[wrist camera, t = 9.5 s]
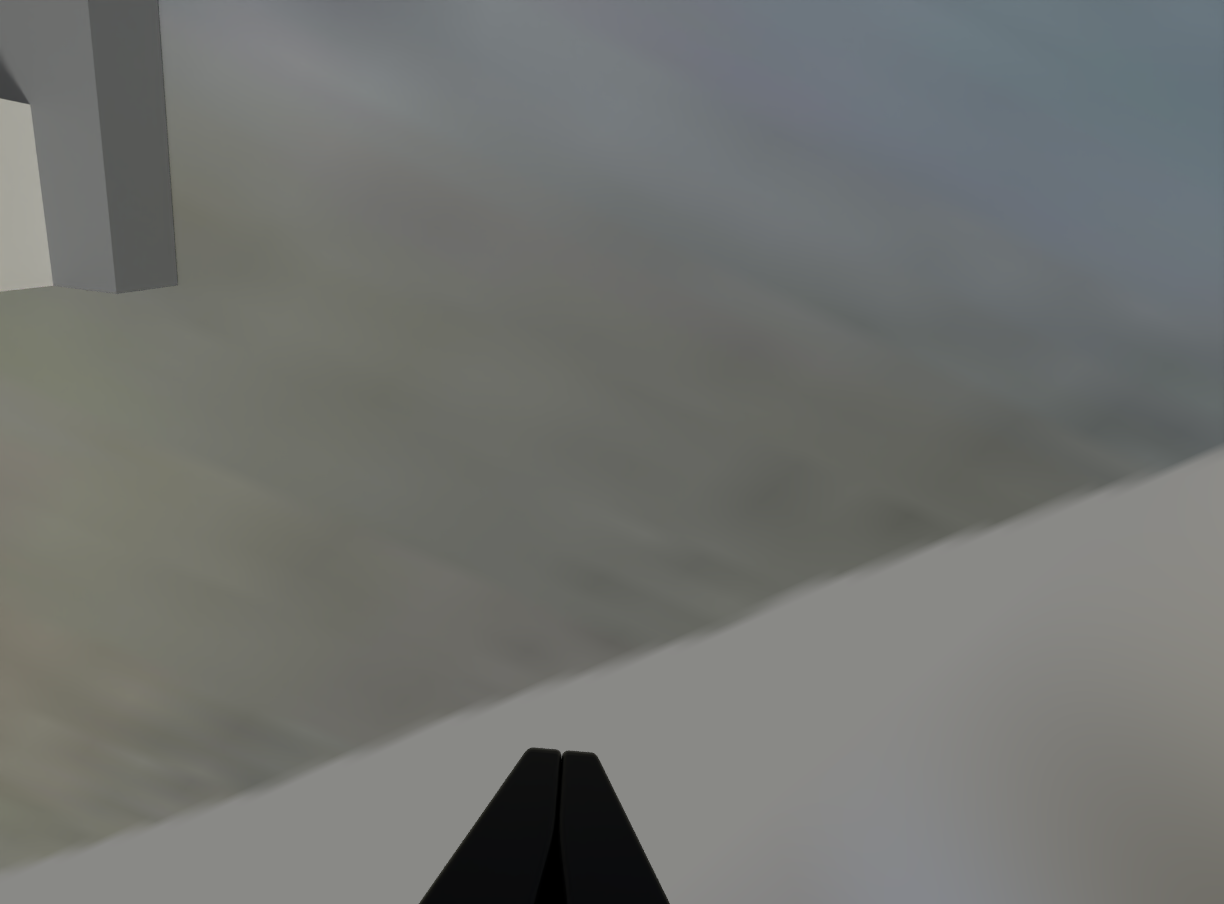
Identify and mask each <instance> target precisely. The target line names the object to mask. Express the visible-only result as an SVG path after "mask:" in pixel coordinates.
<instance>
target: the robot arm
mask: <svg viewBox="0 0 1224 904" xmlns="http://www.w3.org/2000/svg"><path fill="white" fill-rule="evenodd" d="M419 904H670V903H669V901H668V899H667V897H666V895H665V893H664V891H663V889H662V887H661V885H660V883H659V881H658V879H657V877H656V875H655V873H654V870H653V868H652V867H651V864H650V862H649V860H648V858H647V856H646V854H645V852H644V850H643V848H642V846H641V844H640V842H639V840H638V838H637V836H636V834H635V832H634V830H633V828H632V826H631V824H630V822H629V820H628V817H627V815H626V813H625V811H624V809H623V807H622V805H621V803H620V801H619V799H618V797H617V795H616V793H615V791H614V789H613V787H612V785H611V783H610V781H609V779H608V777H607V775H606V773H605V771H604V769H603V767H602V765H601V763H600V761H599V759H598V757H597V756H596V755H595V754H594V753H590V752H579V751H566V752H564V753H563V755H562V759H561V753H560V751H558V750H556V749H543V748H530V749H528V750H527V751H526V752H525V753H524V754H523V756H522V757H521V759H520V760H519V762H518V763H517V764H516V766H515V767H514V769H513V770H512V772H511V773H510V774H509V776H508V777H507V779H506V780H505V782H504V783H503V785H502V786H501V787H500V789H499V791H498V792H497V793H496V794H495V796H494V798H493V799H492V800H491V802H490V803H489V804H488V806H487V807H486V809H485V810H484V812H483V813H482V814H481V816H480V817H479V819H478V820H477V822H476V823H475V825H474V826H473V827H472V829H471V830H470V832H469V833H468V835H467V836H466V837H465V839H464V840H463V842H462V843H461V844H460V846H459V847H458V849H457V850H456V852H455V853H454V854H453V856H452V857H451V859H450V860H449V862H448V863H447V864H446V866H445V867H444V869H443V870H442V872H441V873H440V874H439V876H438V878H437V879H436V880H435V882H434V883H433V884H432V886H431V887H430V889H429V890H428V892H427V893H426V894H425V896H424V897H423V899H422V900H421V902H420V903H419Z"/></svg>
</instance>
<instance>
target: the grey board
mask: <svg viewBox="0 0 1224 904" xmlns="http://www.w3.org/2000/svg"><path fill="white" fill-rule="evenodd" d="M0 98H1V99H6V100H10V101H15V102H20V103H25V104H29V105H30V107H31V114H32V122H33V130H34V138H35V146H36V154H37V162H38V170H39V178H40V185H41V193H42V201H43V209H44V217H45V225H46V233H47V241H48V248H49V256H50V264H51V272H52V280H53V286H60V287H68V288H75V289H83V290H91V291H99V292H106V293H114V294H119V293H126V292H133V291H140V290H147V289H154V288H161V287H169V286H176V285H178V281H177V267H176V252H175V238H174V224H173V210H172V195H171V181H170V167H169V153H168V138H167V124H166V110H165V95H164V81H163V67H162V53H161V38H160V24H159V10H158V0H0Z"/></svg>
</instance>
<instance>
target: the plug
mask: <svg viewBox="0 0 1224 904" xmlns="http://www.w3.org/2000/svg"><path fill="white" fill-rule="evenodd" d="M46 286H53V280H52V272H51V264H50V256H49V248H48V241H47V233H46V225H45V217H44V209H43V201H42V193H41V185H40V178H39V170H38V162H37V154H36V146H35V138H34V130H33V122H32V114H31V107H30V105H29V104H25V103H20V102H15V101H10V100H6V99H1V98H0V291H9V290H18V289H27V288H36V287H46Z"/></svg>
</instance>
